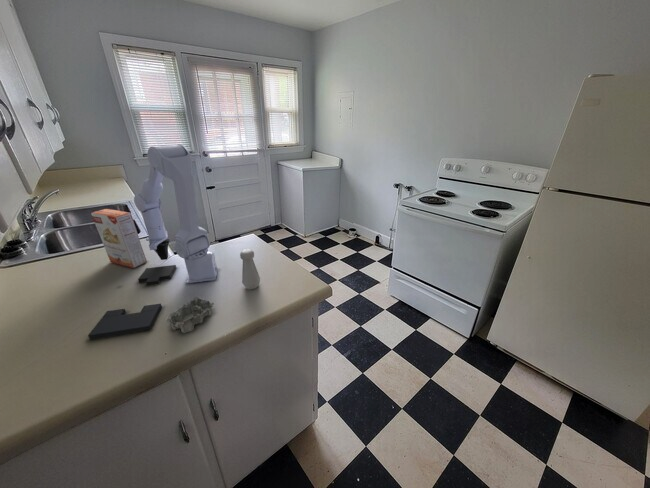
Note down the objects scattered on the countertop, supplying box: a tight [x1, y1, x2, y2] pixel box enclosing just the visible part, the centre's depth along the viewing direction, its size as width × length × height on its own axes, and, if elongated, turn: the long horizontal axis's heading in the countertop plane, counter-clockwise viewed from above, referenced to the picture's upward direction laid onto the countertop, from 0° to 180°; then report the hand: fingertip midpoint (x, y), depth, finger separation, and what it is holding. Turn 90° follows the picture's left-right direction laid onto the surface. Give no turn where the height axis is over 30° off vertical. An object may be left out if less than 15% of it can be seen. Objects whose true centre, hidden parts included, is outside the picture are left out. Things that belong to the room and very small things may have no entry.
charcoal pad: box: [87, 303, 163, 341], centre depth 74 cm, size 14×10×2 cm
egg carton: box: [166, 295, 215, 334], centre depth 74 cm, size 11×8×4 cm
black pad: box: [137, 264, 177, 287], centre depth 96 cm, size 10×11×2 cm
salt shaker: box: [239, 248, 261, 291], centre depth 87 cm, size 6×6×13 cm
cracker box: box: [90, 208, 148, 269], centre depth 102 cm, size 14×6×21 cm, turn 67°
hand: (164, 259), depth 104 cm, fingers closed
